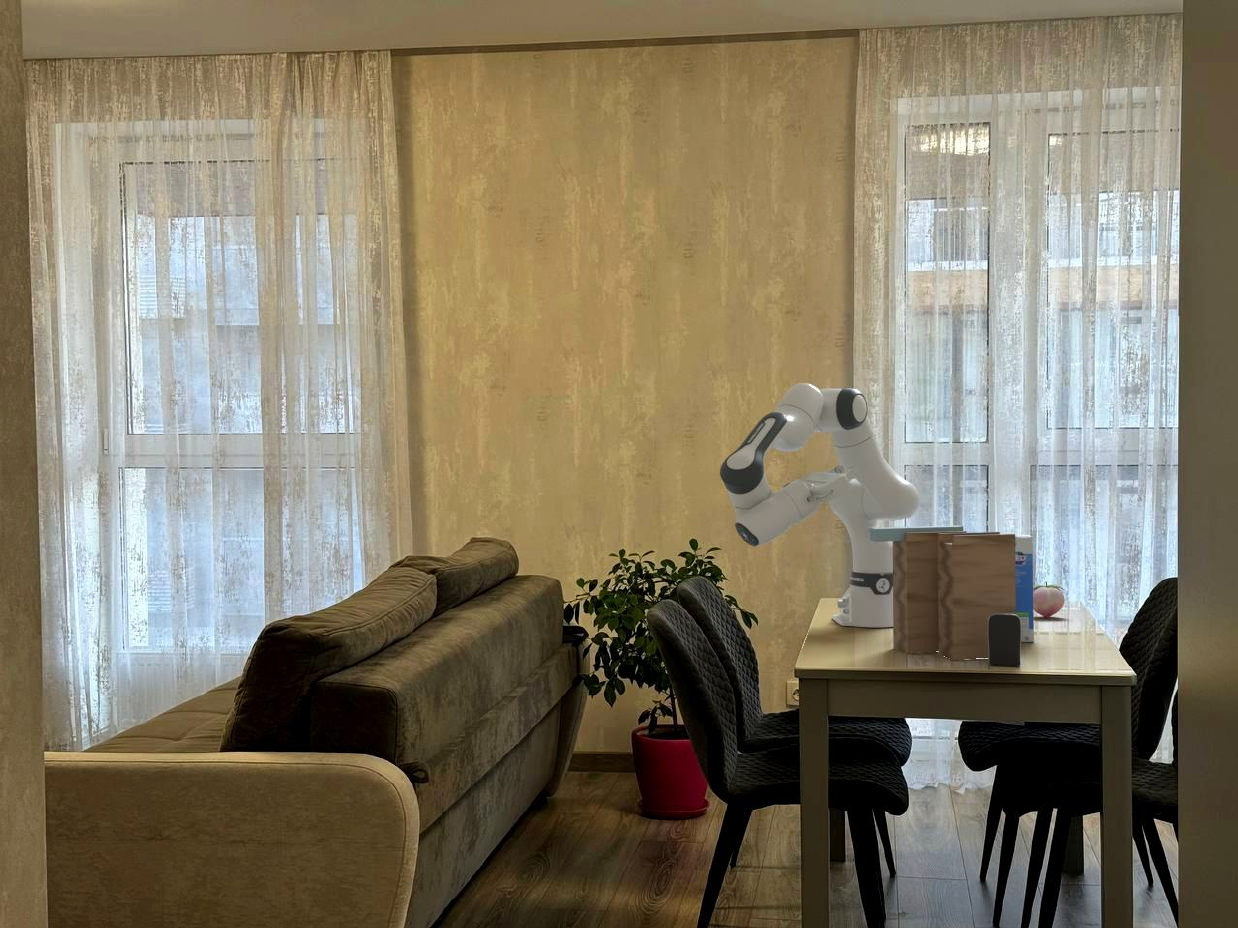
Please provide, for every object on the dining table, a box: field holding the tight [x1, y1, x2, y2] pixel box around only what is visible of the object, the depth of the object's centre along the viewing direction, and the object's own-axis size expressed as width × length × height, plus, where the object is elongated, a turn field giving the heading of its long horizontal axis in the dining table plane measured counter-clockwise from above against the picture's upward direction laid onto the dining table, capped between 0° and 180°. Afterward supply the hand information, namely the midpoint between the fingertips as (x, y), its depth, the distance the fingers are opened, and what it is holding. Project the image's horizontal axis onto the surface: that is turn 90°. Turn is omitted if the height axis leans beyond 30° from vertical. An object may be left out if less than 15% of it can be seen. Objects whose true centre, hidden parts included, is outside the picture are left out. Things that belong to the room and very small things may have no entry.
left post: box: [892, 530, 968, 654], centre depth 300 cm, size 8×15×28 cm, turn 102°
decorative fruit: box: [1033, 581, 1066, 619], centre depth 351 cm, size 9×8×10 cm
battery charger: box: [988, 613, 1022, 667], centre depth 279 cm, size 7×4×11 cm, turn 77°
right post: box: [938, 531, 1016, 661], centre depth 290 cm, size 8×15×28 cm, turn 102°
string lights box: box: [1015, 534, 1035, 643], centre depth 313 cm, size 13×8×26 cm, turn 80°
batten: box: [870, 525, 964, 542], centre depth 299 cm, size 4×22×3 cm, turn 102°
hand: (849, 468), depth 296 cm, fingers open, 8 cm apart
